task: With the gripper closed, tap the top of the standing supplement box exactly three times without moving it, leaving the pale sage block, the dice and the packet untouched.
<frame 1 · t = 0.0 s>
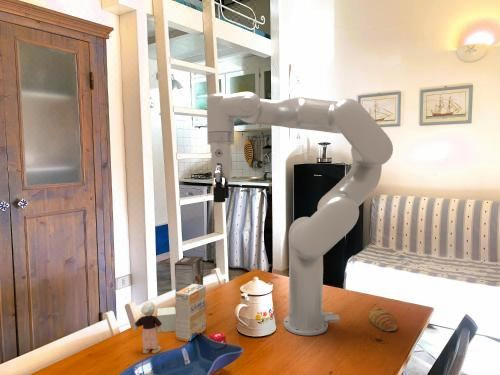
hand: (221, 200, 106), 37 cm above the table, tool pointing down, fingers open, 9 cm apart
dice: (217, 347, 97), on the table
pastry: (383, 325, 109), on the table
sage block: (166, 327, 108), on the table
coffee box: (190, 308, 122), on the table
supplement box: (191, 335, 104), on the table
grandmother figurine: (149, 351, 95), on the table
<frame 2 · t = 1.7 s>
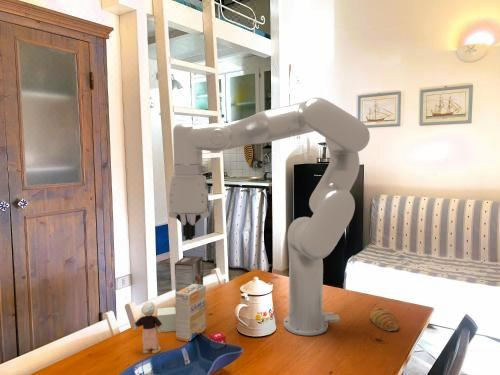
hand: (189, 238, 101), 27 cm above the table, tool pointing down, fingers closed
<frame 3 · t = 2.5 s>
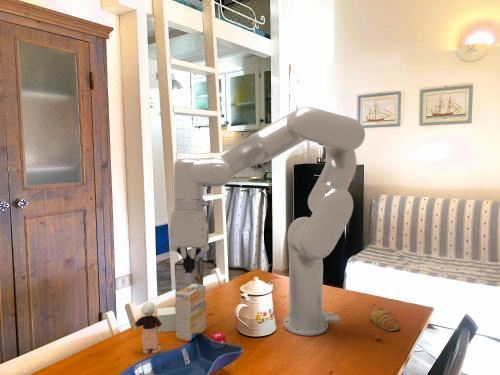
hand: (189, 271, 102), 18 cm above the table, tool pointing down, fingers closed
nothing on the table moved.
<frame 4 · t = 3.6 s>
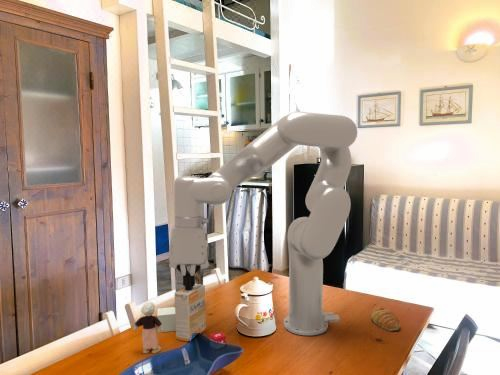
hand: (189, 288, 102), 13 cm above the table, tool pointing down, fingers closed
supplement box: (191, 335, 104), on the table, touching gripper
everything else where it was.
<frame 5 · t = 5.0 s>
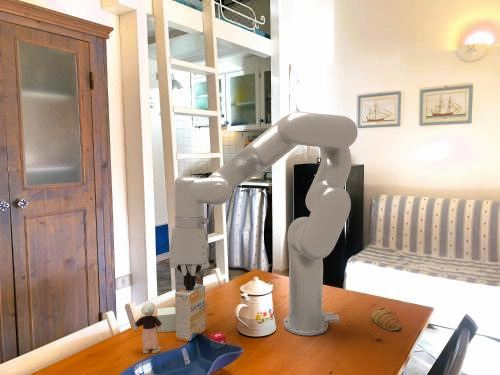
hand: (189, 288, 102), 13 cm above the table, tool pointing down, fingers closed
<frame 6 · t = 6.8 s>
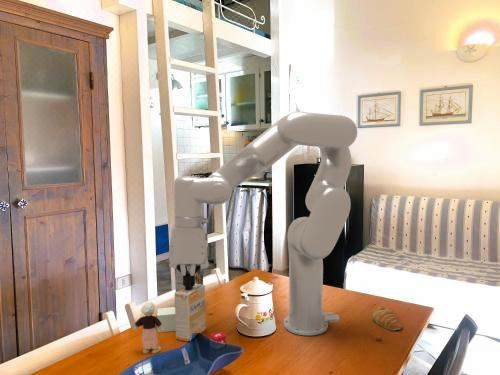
hand: (189, 288, 102), 13 cm above the table, tool pointing down, fingers closed
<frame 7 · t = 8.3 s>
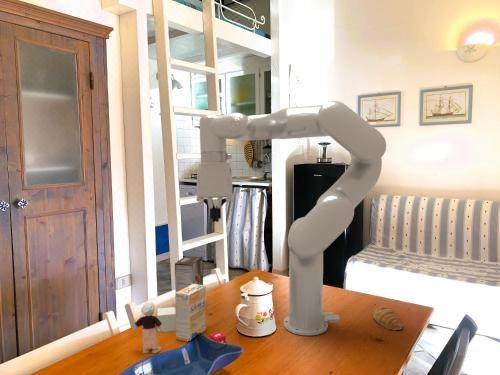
hand: (215, 221, 110), 30 cm above the table, tool pointing down, fingers closed
supplement box: (191, 335, 104), on the table
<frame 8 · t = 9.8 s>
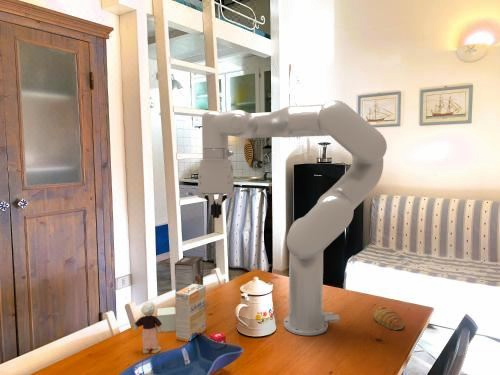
hand: (216, 217, 111), 31 cm above the table, tool pointing down, fingers closed
at the end: supplement box moved 0.2 cm from its start; supplement box tilted 0°; sage block moved 0.1 cm from its start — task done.
